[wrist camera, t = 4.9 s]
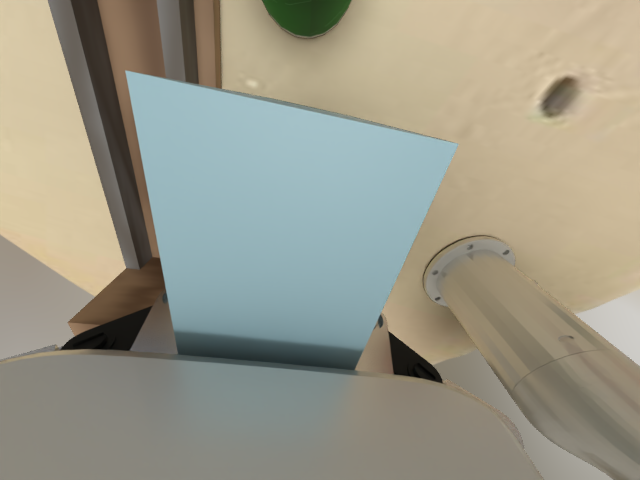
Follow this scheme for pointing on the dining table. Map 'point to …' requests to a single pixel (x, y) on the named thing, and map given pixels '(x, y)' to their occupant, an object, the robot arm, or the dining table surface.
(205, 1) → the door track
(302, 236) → the door panel
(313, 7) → the soda can
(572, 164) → the dining table surface
